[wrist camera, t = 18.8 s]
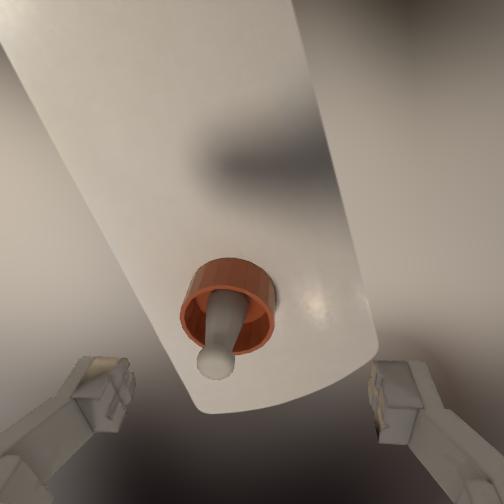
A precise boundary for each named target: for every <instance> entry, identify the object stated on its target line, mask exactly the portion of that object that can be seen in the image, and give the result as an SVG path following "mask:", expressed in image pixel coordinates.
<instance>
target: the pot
mask: <svg viewBox="0 0 504 504" xmlns="http://www.w3.org/2000/svg"><path fill="white" fill-rule="evenodd" d="M218 289H230V290H234V291H238V292H242V293H243V294H244V295H245V297H246V299H247V301H248V304H249V308H248V314H247V316H246V319H245V321H244V323H243V326H242V328H241V330H240V333H239V335H238V338H237V340H236V342H235V345H234V347H233V349H232V352H233V354H234V355H241V354H246V353H250V352H253V351H255V350H257V349H259V348H261V347H262V346H264V344H265V343H266V342H267V341H268V340H269V339H270V338H271V335H272V333H273V330H274V323H275V288H274V285H273V283H272V281H271V279H270V278H269V276H268V275H267V274H266V273H265V272H264V271H263V270H262V269H261V268H259V267H258V266H256V265H255V264H253V263H251V262H248V261H245V260H241V259H236V258H222V259H217V260H213V261H211V262H209V263H206V264H205V265H203V266H202V267H201V268H200V269H198V271H197V272H196V273H195V275H194V276H193V279H192V280H191V282H190V285H189V288H188V290H187V293H186V296H185V298H184V301H183V304H182V306H181V312H180V320H181V324H182V328H183V330H184V331H185V333H186V334H187V335H188V337H189V338H190V339H191V340H193V341H194V342H195V343H196V344H198V345H199V346H200V347H202V348H203V347H205V334H206V306H207V300H208V298H209V297H210V295H211V294H212V293H213V292H215V291H216V290H218Z"/></svg>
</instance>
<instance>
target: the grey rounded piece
mask: <svg viewBox="0 0 504 504" xmlns="http://www.w3.org/2000/svg"><path fill="white" fill-rule="evenodd" d="M248 308H249V304H248V301H247V299H246V297H245V295H244V294H243V293H242V292H238V291H234V290H230V289H218V290H216V291H215V292H213V293H212V294H211V295H210V297H209V298H208V300H207V306H206V334H205V347H203V349H202V350H201V351H200V352H199V354H198V357H197V368H198V370H199V371H200V373H201V374H202V375H203V376H205V377H207V378H209V379H213V380H221V379H224V378H226V377H228V376H229V375H230V374H231V373H232V372H233V369H234V363H235V356H234V354H233V352H232V349H233V347H234V345H235V342H236V340H237V338H238V335H239V333H240V330H241V328H242V326H243V323H244V321H245V319H246V316H247V314H248Z"/></svg>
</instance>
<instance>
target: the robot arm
mask: <svg viewBox="0 0 504 504" xmlns="http://www.w3.org/2000/svg"><path fill="white" fill-rule="evenodd" d="M129 366H130V364H129V361H128V359H127V358H118V357H117V358H116V357H90V356H84V357H82V358H81V359H79V361H78V362H77V364H76V365H75V367H74V368H73V370H72V371H71V373H70V375H69V376H68V378H67V379H66V381H65V383H64V384H63V385H62V387H61V389H60V390H59V392H58V393H57V395H56V396H55V398H50V399H48V400H47V401H45V402H44V403H43V404H41V405H40V406H38V407H37V408H36V409H34V410H33V411H31V412H30V413H29V414H27V415H26V416H25V417H23V418H22V419H20V420H19V421H18V422H16V423H15V424H13V425H12V426H11V427H9V428H8V429H6V430H5V431H4V432H2V433H1V434H0V504H51V503H52V500H53V494H52V493H51V492H50V491H49V489H48V488H47V487H46V486H45V483H46V482H47V481H48V480H49V479H50V478H51V477H52V476H53V475H54V473H56V471H58V469H60V468H61V466H62V465H63V464H64V463H65V462H66V461H67V460H68V459H69V458H70V457H71V456H72V455H73V454H74V453H75V452H76V451H77V450H78V449H79V448H80V447H81V446H82V445H83V444H84V443H85V442H86V441H87V440H88V439H89V438H90V437H91V436H92V435H93V434H94V432H119V429H120V427H121V425H122V422H123V420H124V418H125V415H126V410H125V406H126V405H127V404H129V403H130V402H131V401H132V399H133V396H134V394H135V388H136V378H135V375H134V373H133V372H131V371H130V370H129V369H128V368H129ZM371 372H372V376H371V377H369V385H368V386H369V398H370V404H371V408H372V409H373V410H374V411H375V413H376V414H375V420H374V423H375V428H376V432H377V436H378V441H379V443H387V444H401V445H409V446H408V447H409V448H410V449H411V450H412V452H413V453H414V454H415V455H416V457H417V458H418V459H419V460H420V461H421V463H422V464H423V465H424V466H425V468H426V469H427V470H428V471H429V473H430V474H431V475H432V476H433V478H434V479H435V480H436V481H437V483H438V484H439V485H440V486H441V487H442V489H443V490H444V491H445V492H446V493H447V495H448V496H449V497H450V499H451V500H452V501H453V502H454V504H504V456H502V455H501V454H500V453H499V452H498V451H497V450H496V449H495V448H493V447H492V446H491V445H490V444H489V443H488V442H487V441H485V440H484V439H483V438H482V437H481V436H479V434H477V433H476V432H475V431H474V430H473V429H472V428H470V427H469V426H468V425H467V424H466V423H465V422H463V421H462V420H461V419H460V418H459V417H458V416H457V415H456V414H454V413H453V412H452V411H451V410H448V409H444V407H443V404H442V402H441V400H440V397H439V395H438V392H437V390H436V387H435V385H434V382H433V380H432V378H431V375H430V373H429V370H428V368H427V366H426V364H425V363H424V362H423V361H372V363H371Z"/></svg>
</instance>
